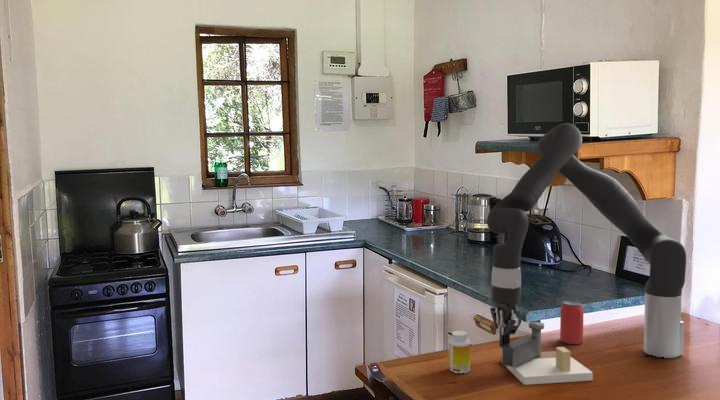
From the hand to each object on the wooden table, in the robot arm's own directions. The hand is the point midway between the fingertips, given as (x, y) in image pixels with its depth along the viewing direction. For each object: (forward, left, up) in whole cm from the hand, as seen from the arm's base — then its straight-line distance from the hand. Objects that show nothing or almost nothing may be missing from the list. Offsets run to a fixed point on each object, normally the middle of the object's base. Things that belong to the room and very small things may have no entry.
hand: (504, 347), depth 162 cm
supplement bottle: (+12, -1, -6) cm, 13 cm away
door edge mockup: (-10, +2, -6) cm, 12 cm away
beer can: (-28, -19, -6) cm, 35 cm away
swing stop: (-4, +1, -3) cm, 5 cm away
